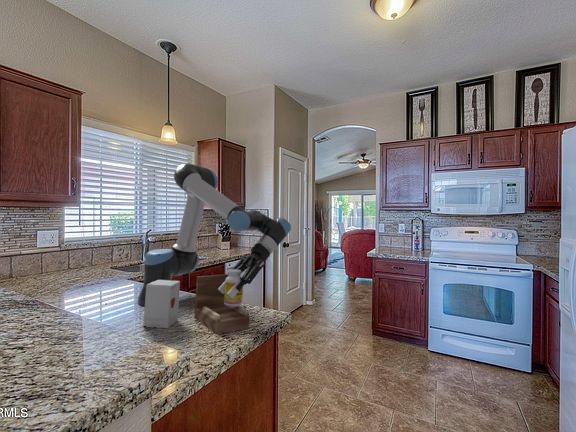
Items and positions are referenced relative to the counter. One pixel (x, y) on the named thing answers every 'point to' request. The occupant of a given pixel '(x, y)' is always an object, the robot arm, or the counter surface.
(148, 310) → the supplement box
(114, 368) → the counter surface
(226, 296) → the supplement bottle
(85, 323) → the counter surface
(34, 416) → the counter surface
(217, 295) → the display stand
